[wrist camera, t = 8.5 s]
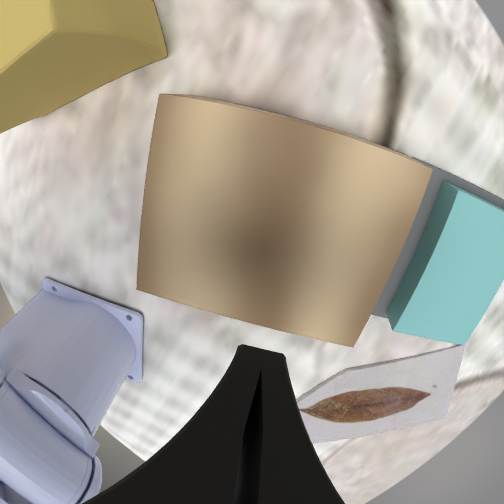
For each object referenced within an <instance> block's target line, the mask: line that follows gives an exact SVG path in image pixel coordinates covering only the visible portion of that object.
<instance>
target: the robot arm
mask: <svg viewBox="0 0 504 504" xmlns="http://www.w3.org/2000/svg"><path fill="white" fill-rule="evenodd" d="M55 287H56V288H55ZM129 315H130V316H131V317H132V318H131V317H130V316H129ZM142 347H143V317H142V315H141V314H140V313H138V312H135V311H133V310H130V309H127V308H124V307H121V306H118V305H115V304H113V303H110V302H107V301H104V300H102V299H99V298H96V297H94V296H91V295H88V294H86V293H83V292H80V291H78V290H75V289H73V288H70V287H68V286H65V285H63V284H60V283H58V282H55V281H53V280H50V279H48V278H44V279H43V280H42V290H41V291H40V292H39V293H38V294H37V295H36V296H35V297H34V298H33V299H31V300H30V301H29V302H28V303H27V304H26V305H25V306H24V307H23V308H22V309H21V310H20V311H19V312H18V313H17V314H16V315H15V316H14V317H13V318H12V319H11V320H10V321H9V322H8V323H7V324H6V325H5V326H4V327H3V328H2V329H1V331H0V504H345V503H344V501H343V500H342V498H341V497H340V495H339V494H338V492H337V491H336V489H335V487H334V486H333V484H332V482H331V480H330V479H329V477H328V475H327V473H326V471H325V469H324V468H323V466H322V464H321V462H320V460H319V458H318V456H317V453H316V451H315V449H314V447H313V445H312V442H311V440H310V437H309V435H308V433H307V430H306V427H305V425H304V422H303V420H302V417H301V414H300V411H299V408H298V405H297V402H296V399H295V395H294V392H293V388H292V385H291V381H290V377H289V372H288V368H287V363H286V357H285V356H284V354H282V353H277V352H273V351H269V350H264V349H260V348H256V347H252V346H248V345H244V344H242V345H239V346H238V348H237V351H236V354H235V356H234V358H233V360H232V362H231V364H230V366H229V368H228V369H227V371H226V373H225V374H224V376H223V378H222V379H221V381H220V382H219V383H218V385H217V386H216V388H215V389H214V391H213V392H212V394H211V395H210V396H209V398H208V399H207V400H206V401H205V403H204V404H203V405H202V406H201V407H200V409H199V410H198V411H197V412H196V413H195V415H194V416H193V417H192V418H191V419H190V420H189V421H188V422H187V424H186V425H185V426H184V427H183V428H182V429H181V430H180V431H179V432H178V433H177V434H176V435H175V436H174V437H173V438H172V439H171V440H170V441H169V442H168V443H167V444H165V445H164V446H163V447H162V448H161V449H160V450H159V451H158V452H156V453H155V454H154V455H153V456H152V457H151V458H149V459H148V460H147V461H146V462H145V463H143V464H142V465H141V466H139V467H138V468H137V469H136V470H134V471H133V472H131V473H130V474H128V475H127V476H126V477H124V478H123V479H121V480H120V481H118V482H117V483H116V484H114V485H113V486H111V487H110V488H108V489H106V490H105V491H103V492H101V493H99V491H100V488H101V484H102V468H101V463H100V461H99V459H98V458H97V457H96V456H95V453H96V451H97V449H98V447H99V443H98V442H96V441H95V440H94V439H93V436H94V434H95V432H96V431H97V429H98V427H99V425H100V423H101V421H102V419H103V417H104V416H105V414H106V412H107V410H108V408H109V406H110V404H111V403H112V401H113V399H114V397H115V395H116V393H117V392H118V390H119V388H120V386H121V384H122V383H123V381H124V379H125V378H126V379H128V380H131V381H133V382H136V383H140V382H141V381H142Z"/></svg>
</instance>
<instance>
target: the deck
mask: <svg viewBox="0 0 504 504" xmlns="http://www.w3.org/2000/svg"><path fill="white" fill-rule="evenodd" d="M432 171H433V169H432V168H430V167H428V166H426V165H425V164H423V163H421V162H419V161H417V160H415V159H413V158H411V157H409V156H407V155H405V154H403V153H400V152H398V151H395V150H393V149H390V148H387V147H385V146H382V145H379V144H377V143H374V142H371V141H368V140H365V139H362V138H359V137H356V136H353V135H350V134H347V133H344V132H341V131H338V130H335V129H332V128H329V127H325V126H322V125H319V124H315V123H312V122H308V121H305V120H301V119H297V118H294V117H290V116H286V115H282V114H279V113H275V112H270V111H266V110H262V109H258V108H254V107H249V106H245V105H240V104H235V103H230V102H225V101H220V100H215V99H210V98H204V97H198V96H192V95H182V94H159V99H158V104H157V109H156V115H155V121H154V126H153V132H152V139H151V145H150V152H149V158H148V166H147V173H146V181H145V189H144V198H143V207H142V217H141V228H140V240H139V254H138V270H137V290H140V291H143V292H146V293H149V294H152V295H155V296H159V297H162V298H165V299H168V300H171V301H175V302H178V303H181V304H185V305H188V306H191V307H195V308H198V309H202V310H205V311H209V312H212V313H216V314H219V315H223V316H226V317H230V318H234V319H237V320H241V321H245V322H248V323H252V324H256V325H260V326H264V327H268V328H272V329H276V330H280V331H284V332H288V333H292V334H296V335H300V336H304V337H309V338H313V339H317V340H322V341H326V342H331V343H335V344H340V345H344V346H349V347H354V345H355V343H356V341H357V339H358V338H359V336H360V334H361V332H362V330H363V328H364V326H365V325H366V323H367V321H368V319H369V317H370V315H371V313H372V311H373V309H374V307H375V305H376V303H377V301H378V299H379V297H380V295H381V293H382V291H383V289H384V287H385V285H386V283H387V281H388V279H389V277H390V275H391V272H392V270H393V268H394V266H395V264H396V261H397V259H398V257H399V255H400V253H401V250H402V248H403V246H404V243H405V241H406V239H407V236H408V234H409V232H410V229H411V227H412V224H413V222H414V219H415V217H416V214H417V212H418V209H419V207H420V204H421V201H422V199H423V196H424V193H425V191H426V188H427V185H428V182H429V180H430V177H431V174H432Z"/></svg>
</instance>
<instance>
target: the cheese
mask: <svg viewBox="0 0 504 504" xmlns="http://www.w3.org/2000/svg"><path fill="white" fill-rule="evenodd" d="M166 57H167V50H166V46H165V41H164V37H163V33H162V29H161V25H160V21H159V18H158V15H157V12H156V8H155V5H154V2H153V0H0V133H2V132H5V131H7V130H9V129H11V128H13V127H16V126H18V125H20V124H22V123H25V122H27V121H30V120H32V119H35V118H38V117H41V116H45V115H47V114H49V113H51V112H52V111H54V110H56V109H58V108H60V107H62V106H63V105H65V104H67V103H69V102H71V101H73V100H75V99H77V98H79V97H81V96H83V95H85V94H87V93H89V92H90V91H92V90H94V89H96V88H98V87H100V86H102V85H104V84H106V83H108V82H110V81H112V80H114V79H116V78H118V77H120V76H122V75H124V74H126V73H129V72H131V71H133V70H135V69H138V68H140V67H143V66H145V65H148V64H150V63H153V62H155V61H158V60H161V59H163V58H166Z"/></svg>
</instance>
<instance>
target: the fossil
mask: <svg viewBox="0 0 504 504" xmlns="http://www.w3.org/2000/svg"><path fill="white" fill-rule="evenodd" d="M464 347H465V345H457V346H453V347H449V348H445V349H441V350H436V351H432V352H428V353H424V354H419V355H415V356H410V357H405V358H401V359H396V360H390V361H385V362H380V363H374V364H369V365H363V366H357V367H352V368H346V369H344V370H342V371H340V372H338V373H337V374H335V375H333V376H331V377H330V378H328V379H326V380H325V381H323V382H322V383H320V384H318V385H317V386H316V387H314V388H313V389H312V390H310V391H308V392H306V393H304V394H303V395H301V396H300V397H299V398H298V399H296V402H297V405H298V408H299V411H300V414H301V417H302V420H303V422H304V425H305V427H306V430H307V433H308V435H309V437H310V440H311V442H312V443H318V442H328V441H336V440H342V439H348V438H356V437H363V436H367V435H372V434H377V433H383V432H388V431H393V430H399V429H404V428H407V427H412V426H417V425H420V424H424V423H428V422H431V421H435V420H439V419H442V418H445V417H446V414H447V411H448V407H449V404H450V401H451V397H452V394H453V390H454V387H455V383H456V380H457V376H458V372H459V368H460V365H461V361H462V356H463V352H464Z"/></svg>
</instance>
